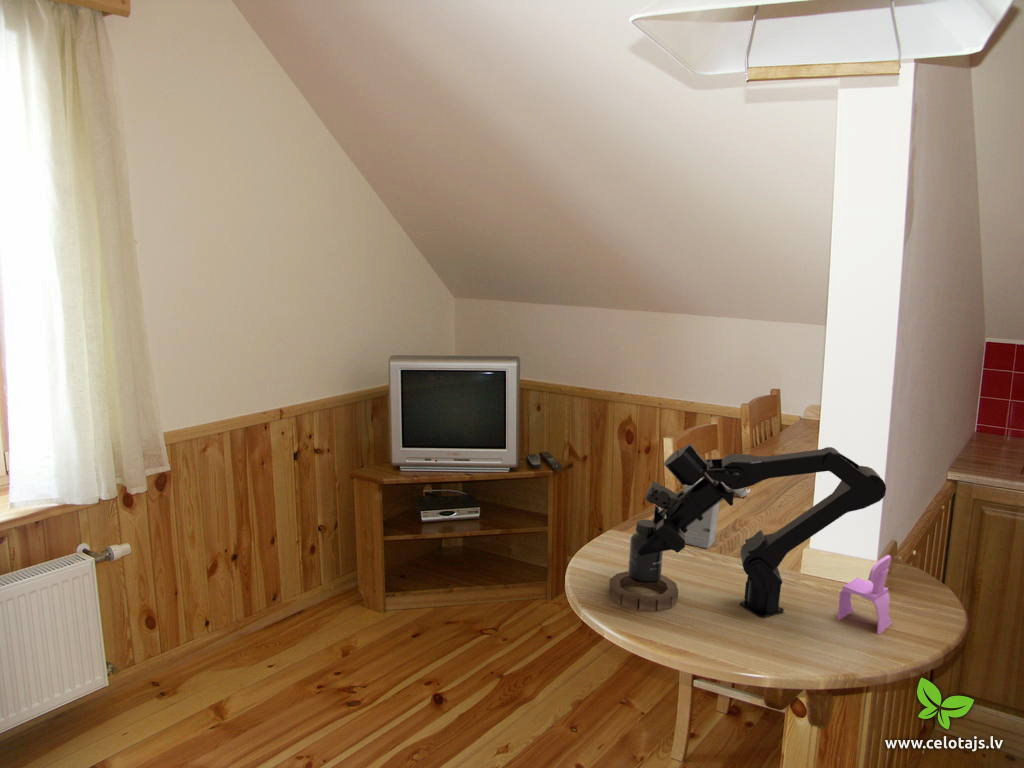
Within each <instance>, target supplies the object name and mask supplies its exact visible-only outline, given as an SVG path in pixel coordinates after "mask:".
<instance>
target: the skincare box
mask: <svg viewBox="0 0 1024 768" xmlns="http://www.w3.org/2000/svg"><path fill="white" fill-rule="evenodd" d="M703 478H704V477H702V478H701V479H703ZM701 479H700V480H701ZM700 480H699V481H700ZM699 481H698V482H699ZM698 482H697V483H698ZM695 484H696V483H695ZM695 484H694V485H695ZM694 485H692V486H690V485H689V486H687V485H682V486H683V487H682V491H683V490H684V491H685V492H686V491H688V490H689V489H690V488H691V487H693V486H694ZM720 503H721V501H720V502H719V503H717V504H716V505H715V506H714V507H712V508H711V509H710V510H709V511H707V512H706V513H705V514H704V515H703V519H702V520H701V521H699V520H698V519H697V520H696V521H695V522H693V523H692V524H691V525H690V526H688V531H687V532H686V533H683V532H682V531H681V530H680V529H679V530H680V531H681V532H682V533H683V534H684V535H685V545H690V546H693V547H697V548H698V547H699V548H704V549H709V548H710V547H711V546H712V544H713V543H715V540H716V534H717V525H718V517H719V510H720Z"/></svg>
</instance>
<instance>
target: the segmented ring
mask: <svg viewBox="0 0 1024 768" xmlns="http://www.w3.org/2000/svg"><path fill="white" fill-rule="evenodd" d="M677 585H678V584H677V583H676V582H675V581H674V580H672V579H670V578H669V577H667V576H665V575H663V574H661V578H660V580H659V581H657V582H655V583H640V582H636V581H634V580H632V579H631V578H630V577H629V574H628V571H623V572H618V573H616V574H614V575H613V576H612V577H611V578H609V585H608V586H609V587H608V594H609V598H610V600H612V602H615V603H616V605H618V606H621V607H622V608H627V609H630V610H633V611H635V612H636V611H638V612H648V613H649V612H652V613H654V612H655V613H656V612H658V613H659V612H662V611H665V610H670V609H671V608H673V607H674V606H675V605H676V604H677V603H678V596H679V588H678V586H677ZM631 586H636V587H637V586H638V587H639V586H640V587H641V586H642V587H649V588H653V589H657V590H658V591H660V592H662V593H659V594H656V595H645V594H644V595H643V594H641V595H640V594H637V593H633V592H630V591H627V590H626V589H625V588H628V587H631Z"/></svg>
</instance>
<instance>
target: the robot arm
mask: <svg viewBox="0 0 1024 768" xmlns="http://www.w3.org/2000/svg"><path fill="white" fill-rule="evenodd" d="M663 465H664V467H665V468H666V469H667V470H668V471H669V472H670V473H671V474H672V475H673V476H674V477H675V478H676V480H677V481H679V483H680V484H681V485H682V486H683V485H687V486H689V485H690V486H692V485H694V484H695V483H696V484H695V485H694V486H693V487H691V488H690V489H689V490H688V491H686V492H685V491H684V490H683V489H682V490H680V491H679V492H674V491H672V489H670V488H668V487H666V486H664V485H662V484H660V483H658V482H657V481H652V482H651V484H650V485H649V488H648V489H647V491H646V492H645V499H644V500H646V501H647V502H648V503H649V504H654V510H653V512H654V514H653V518H652V519H651V520H653V521H656V522H658V524H657V525H656V524H655V526H654V534H653V535H652V536H651V537H650V538H649V539H648V540H647V541H646V543H645V544H644V545H643V546H642V547H641V548H640V549H639V550H638V553H639V554H640V555H641V556H642V555H647V554H651V553H656V552H661V551H663V552H666V551H667V552H668V551H674V553H677V554H678V553H679V552H681V551H682V550H684V549H685V546H686V544H685V535H684V534H683V533H686V532H687V531H688V526H690V525H691V524H692V523H693V522H695V521H696V520H697V519H698V520H699V521H701V520H702V519H703V515H704V514H705V513H706V512H707V511H709V510H710V509H711V508H712V507H714V506H715V505H716V504H717V503H719V502H720V503H721V501H722V500H724V501H725V502H726V503H727V504H728V505H729V506H731V507H732V506H733V505H734V496H735V494H736V493H734V490H733V489H742V488H745V487H746V488H749V487H752V486H755V485H757V484H759V483H761V482H762V481H765V480H768V479H769V480H770V479H775V478H783V477H790V476H798V475H806V474H814V473H815V474H816V473H822V472H823V473H824V472H830V473H831V474H833V475H834V476H835V477H837V478H838V479H839V480H840V482H839V484H838V485H836V488H835V489H834V491H832V493H831V494H829V495H828V496H826V497H825V498H823V499H821V500H820V501H819V502H818V503H816V504H815V505H813V506H811V507H810V508H809V509H808V510H806V511H804V512H803V513H801V514H800V515H798V516H796V517H795V518H794V519H793V520H791V521H789V522H788V523H786V525H784V526H782V527H781V528H780V529H778V530H777V531H775V532H774V533H769V534H764V533H763V531H762V530H759V531H756V533H755V534H754V535H753V536H752V537H750V538H746V539H744V541H745V543H744V544H743V545H742V546H741V547H740V548H741V549H740V553H739V555H740V559H741V565H742V568H743V571H744V573H745V575H747V578H746V579H747V580H746V581H745V589H744V601H743V600H742V601H740V602H739V606H741V607H742V608H744V609H746V610H747V611H749V612H751V613H752V614H754V615H756V616H757V617H759V618H766V617H769V616H772V615H776V614H780V613H784V611H785V609H784V607H781V606H780V598H781V597H780V596H781V589H782V584H783V579H782V576H781V574H780V570H779V566H780V564H781V563H782V562H783V560H784V558H785V557H786V556H787V554H789V553H790V552H791V551H792V550H794V549H795V548H797V547H798V546H799V545H801V544H803V543H804V542H806V541H807V540H809V539H810V538H812V537H813V536H814V535H817V533H819V532H821V531H823V530H824V529H825V528H826V527H828V526H829V525H832V523H834V522H835V521H837V520H839V518H841V517H843V516H844V515H846V514H847V513H850V512H854V511H858V510H863V509H866V508H868V507H871V506H872V505H874V504H877V503H879V502H880V501H882V500H883V499H884V497H885V496H886V492H887V487H886V486H887V485H886V483H885V481H884V480H883V479H882V477H881V476H880V475H879V474H878V472H876V471H875V470H874V469H873V468H871V467H869V466H864V465H859V464H858V463H856V462H855V461H854V460H852V459H850V458H849V457H847V456H846V455H844V454H842V453H840V452H839V450H837V449H836V448H835V447H832V446H830V447H829V446H827V447H823V448H821V449H820V448H819V449H813V450H806V451H805V450H804V451H799V452H797V451H796V452H790V453H782V454H774V455H767V456H759V455H753V454H742V453H730V454H727V455H725V456H724V457H723V458H707V459H704V458H703V457H702V456H701V455H700V453H698V451H697V450H696V448H695V447H694V446H693V445H692V444H691V443H688V444H687V445H686V446H683V447H681V448H679V449H676V450H674V452H673V453H671V455H669V457H667V459H666V460H665V461H664V463H663ZM701 478H703V479H701ZM700 479H701V480H700ZM699 480H700V481H699ZM698 481H699V482H698ZM697 482H698V483H697ZM721 482H723V483H724V484H725V485H726V486H727V487H729V488H730V489H727V488H726V487H725V486H724V485H723V484H722V483H721ZM679 529H680V530H681V531H682V532H683V533H682V532H681V531H680V530H679Z"/></svg>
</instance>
